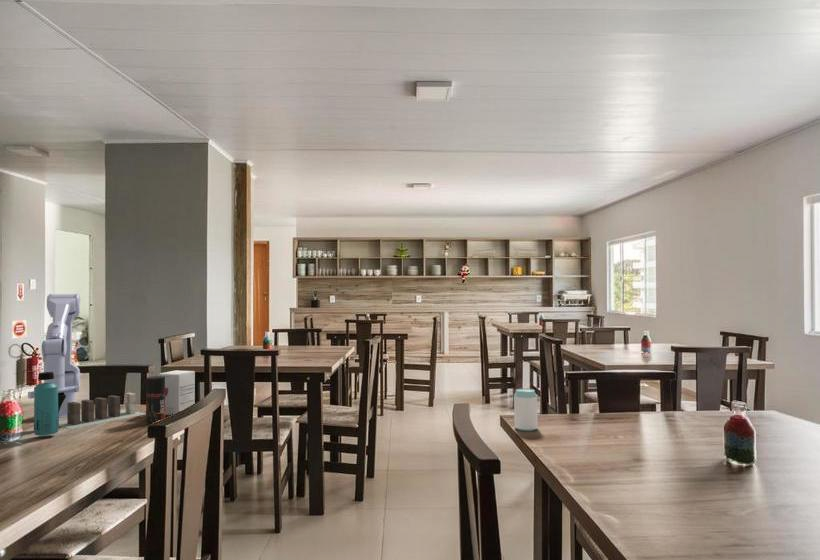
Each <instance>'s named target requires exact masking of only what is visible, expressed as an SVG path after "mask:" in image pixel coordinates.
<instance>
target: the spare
mask: <svg viewBox="0 0 820 560" xmlns="http://www.w3.org/2000/svg"><path fill="white" fill-rule="evenodd" d="M136 394H137V393H134V392H126V393H125V409H126V413H129V414H135V413H136V412H137V410H136V409H137V405H136V402H137V400H136V398H137V397H136V396H137V395H136Z"/></svg>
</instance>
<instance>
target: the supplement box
mask: <svg viewBox="0 0 820 560" xmlns="http://www.w3.org/2000/svg"><path fill="white" fill-rule="evenodd" d="M195 374H196V371H195V370H176V369H175V370H171V371H167V372H161V373H159V374H158V376H165V416H166V415H167V416H173V415H172V414H175V413H177V412H179V411H182V410H184V409H185V408H187V407H189V406H191V405H193V404H195V403H196V402H195V399H196V397H195V396H196V394H195V393H196V392H195V391H196V390H195V387H196V385H195V383H196V381H195V380H196V379H195V378H196V375H195Z"/></svg>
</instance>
